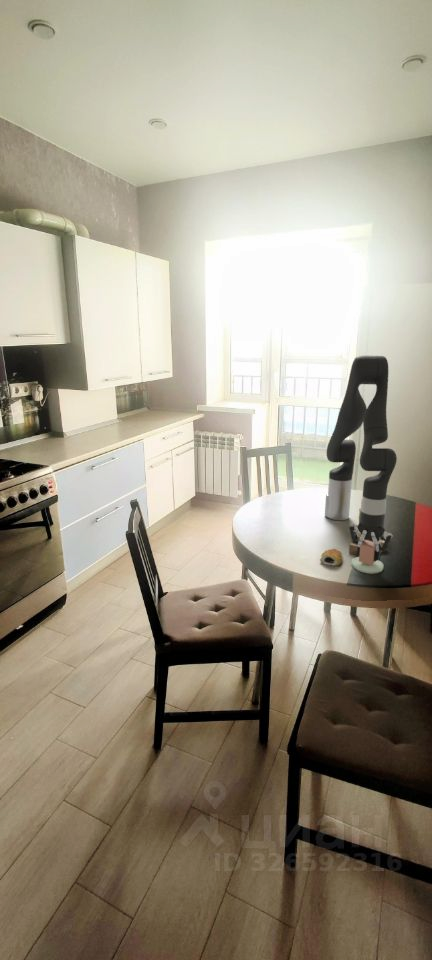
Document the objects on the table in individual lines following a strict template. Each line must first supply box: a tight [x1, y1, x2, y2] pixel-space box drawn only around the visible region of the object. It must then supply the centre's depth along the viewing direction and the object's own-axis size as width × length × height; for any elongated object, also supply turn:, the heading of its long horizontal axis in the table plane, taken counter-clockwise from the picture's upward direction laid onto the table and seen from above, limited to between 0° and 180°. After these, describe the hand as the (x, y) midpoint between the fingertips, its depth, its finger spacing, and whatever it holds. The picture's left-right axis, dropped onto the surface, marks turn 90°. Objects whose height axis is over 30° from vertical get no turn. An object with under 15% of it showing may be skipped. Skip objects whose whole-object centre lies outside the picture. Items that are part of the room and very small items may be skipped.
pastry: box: [319, 548, 343, 567], centre depth 150 cm, size 9×7×4 cm
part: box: [358, 540, 375, 565], centre depth 145 cm, size 4×4×6 cm
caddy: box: [348, 534, 386, 556], centre depth 156 cm, size 10×10×3 cm
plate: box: [351, 556, 384, 575], centre depth 146 cm, size 10×10×1 cm
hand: (368, 558), depth 145 cm, fingers closed on part, 4 cm apart
